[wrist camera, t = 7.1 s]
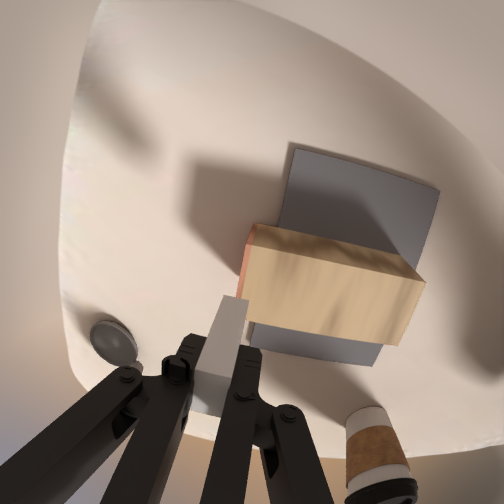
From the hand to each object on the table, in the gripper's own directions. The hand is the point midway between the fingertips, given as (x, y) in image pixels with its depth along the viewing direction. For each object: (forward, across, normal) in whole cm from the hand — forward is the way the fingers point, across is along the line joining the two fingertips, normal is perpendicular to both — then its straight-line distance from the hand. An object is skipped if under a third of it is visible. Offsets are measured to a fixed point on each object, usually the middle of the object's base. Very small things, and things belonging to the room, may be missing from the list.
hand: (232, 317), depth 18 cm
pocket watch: (+11, +13, +16) cm, 24 cm away
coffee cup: (+12, -20, +20) cm, 30 cm away
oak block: (+8, 0, 0) cm, 8 cm away
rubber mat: (+11, -9, 0) cm, 14 cm away
